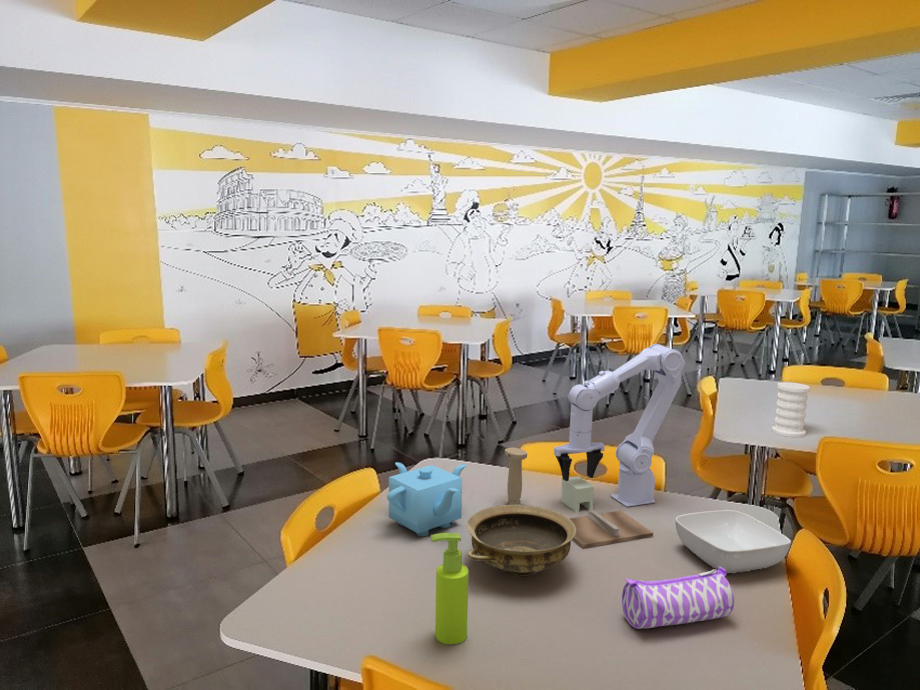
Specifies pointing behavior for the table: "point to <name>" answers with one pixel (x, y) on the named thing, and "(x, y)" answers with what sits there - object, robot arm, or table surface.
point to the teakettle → (425, 497)
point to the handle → (515, 474)
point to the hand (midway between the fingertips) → (577, 478)
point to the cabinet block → (577, 493)
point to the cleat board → (607, 529)
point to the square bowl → (732, 540)
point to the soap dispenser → (451, 592)
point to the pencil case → (677, 600)
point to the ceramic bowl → (520, 538)
